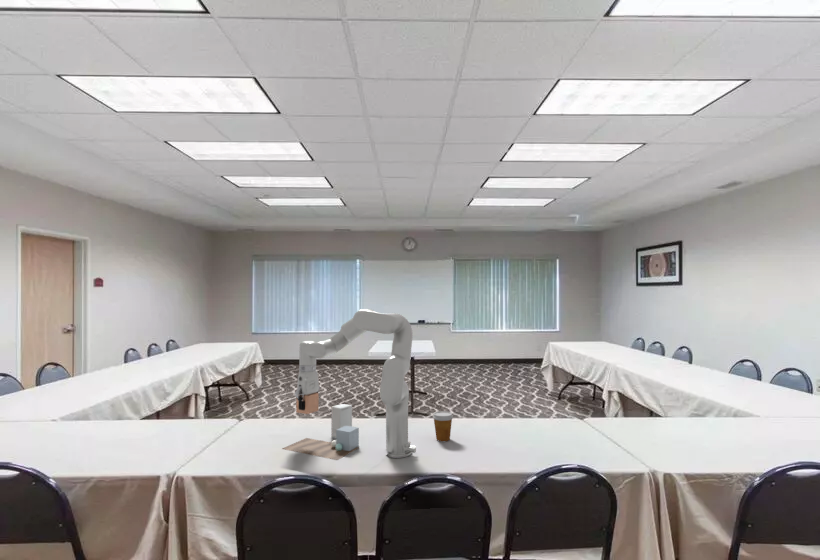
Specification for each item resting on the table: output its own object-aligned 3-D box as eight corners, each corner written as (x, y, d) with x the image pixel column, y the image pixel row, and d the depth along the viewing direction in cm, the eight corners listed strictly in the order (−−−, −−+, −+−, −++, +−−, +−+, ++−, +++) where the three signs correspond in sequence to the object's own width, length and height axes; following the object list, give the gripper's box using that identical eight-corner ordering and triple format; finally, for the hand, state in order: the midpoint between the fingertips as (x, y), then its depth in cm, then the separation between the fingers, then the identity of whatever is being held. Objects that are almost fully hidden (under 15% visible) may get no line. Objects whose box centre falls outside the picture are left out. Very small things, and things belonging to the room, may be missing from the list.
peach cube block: (318, 410, 191) (318, 392, 192) (308, 414, 185) (308, 395, 186) (306, 408, 195) (306, 391, 195) (296, 412, 188) (296, 394, 189)
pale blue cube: (358, 446, 184) (358, 427, 185) (349, 451, 178) (349, 432, 179) (345, 443, 188) (345, 425, 188) (336, 448, 181) (336, 429, 182)
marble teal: (344, 444, 179) (339, 440, 179) (341, 450, 177) (336, 445, 177) (341, 448, 181) (336, 444, 181) (338, 453, 178) (333, 449, 178)
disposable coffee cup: (453, 436, 201) (452, 411, 202) (453, 443, 192) (452, 416, 192) (433, 435, 202) (433, 410, 203) (432, 442, 192) (432, 416, 193)
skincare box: (339, 442, 194) (339, 408, 194) (330, 439, 198) (330, 406, 198) (352, 437, 200) (352, 404, 201) (343, 435, 204) (343, 403, 205)
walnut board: (359, 451, 182) (359, 447, 182) (337, 463, 168) (337, 460, 168) (306, 441, 196) (306, 437, 196) (281, 452, 182) (281, 448, 182)
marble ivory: (335, 437, 184) (329, 440, 183) (338, 442, 182) (332, 445, 180) (336, 442, 186) (329, 445, 184) (339, 446, 184) (333, 450, 182)
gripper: (301, 371, 181) (300, 413, 181) (326, 366, 197) (326, 404, 196) (288, 370, 185) (287, 411, 184) (313, 365, 200) (313, 402, 199)
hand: (307, 407), depth 190 cm, fingers closed on peach cube block, 7 cm apart
